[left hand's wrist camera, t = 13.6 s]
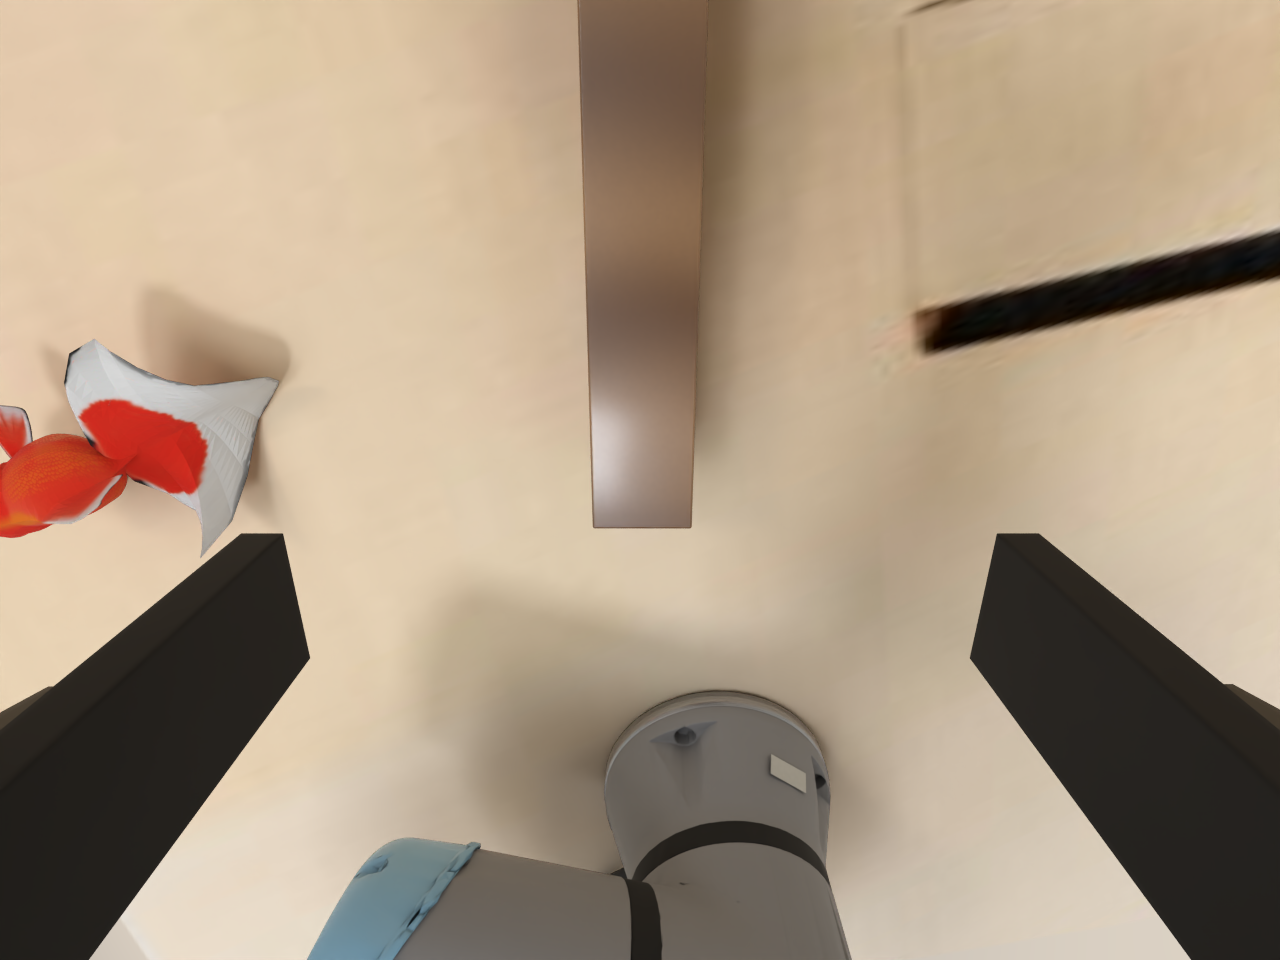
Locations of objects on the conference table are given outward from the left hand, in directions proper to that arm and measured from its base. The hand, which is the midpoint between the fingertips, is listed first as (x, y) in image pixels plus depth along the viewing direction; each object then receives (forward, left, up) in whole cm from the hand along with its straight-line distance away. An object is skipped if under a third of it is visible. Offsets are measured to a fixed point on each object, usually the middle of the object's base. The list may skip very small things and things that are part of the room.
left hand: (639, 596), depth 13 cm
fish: (-15, +22, -25) cm, 36 cm away
